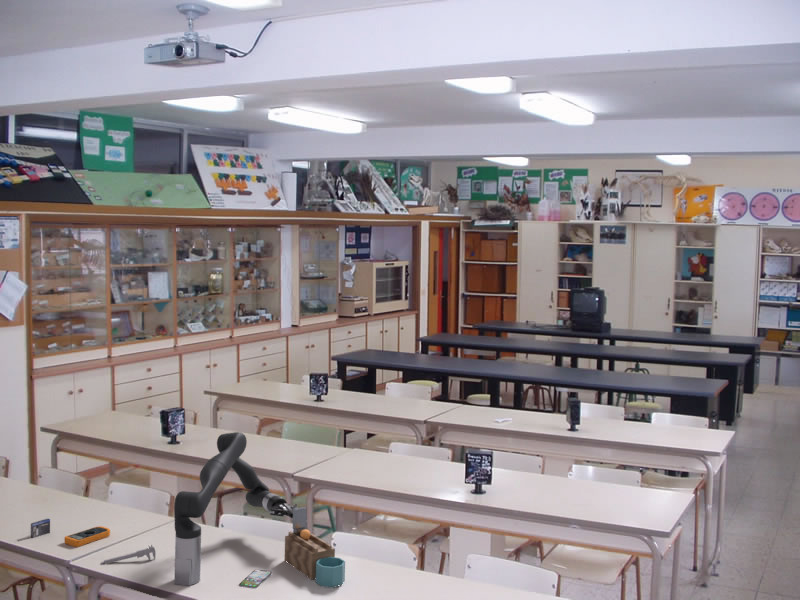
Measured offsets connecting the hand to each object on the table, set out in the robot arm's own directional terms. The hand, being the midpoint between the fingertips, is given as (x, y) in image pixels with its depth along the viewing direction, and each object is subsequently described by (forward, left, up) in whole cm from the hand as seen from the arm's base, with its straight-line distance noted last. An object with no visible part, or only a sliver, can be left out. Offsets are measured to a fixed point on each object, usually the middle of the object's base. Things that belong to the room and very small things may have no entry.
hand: (293, 515), depth 324 cm
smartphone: (-26, +7, -18) cm, 32 cm away
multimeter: (-3, +88, -18) cm, 90 cm away
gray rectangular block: (-4, -4, -7) cm, 9 cm away
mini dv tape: (-3, +111, -17) cm, 112 cm away
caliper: (-21, +61, -18) cm, 67 cm away
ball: (-7, -7, -5) cm, 11 cm away
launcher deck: (-9, -9, -17) cm, 22 cm away
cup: (-21, -21, -17) cm, 34 cm away
